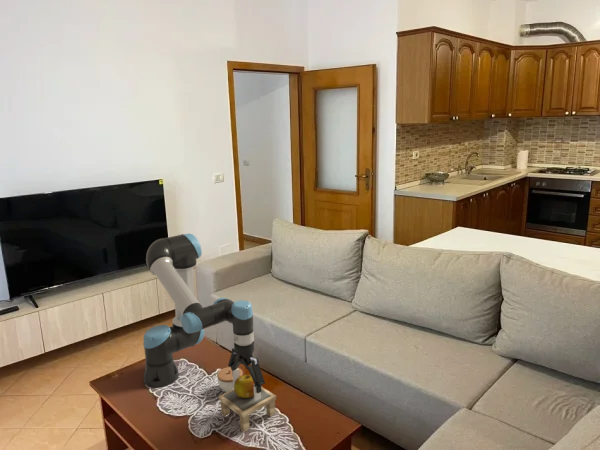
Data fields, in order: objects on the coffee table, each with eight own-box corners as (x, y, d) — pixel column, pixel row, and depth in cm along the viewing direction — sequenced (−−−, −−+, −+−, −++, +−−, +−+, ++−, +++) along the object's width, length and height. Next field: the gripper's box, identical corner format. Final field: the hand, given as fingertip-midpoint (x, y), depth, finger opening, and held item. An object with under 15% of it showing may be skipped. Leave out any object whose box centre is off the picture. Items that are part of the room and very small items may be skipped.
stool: (219, 414, 180) (218, 395, 178) (252, 397, 191) (251, 379, 189) (244, 433, 169) (242, 413, 167) (277, 414, 180) (276, 395, 178)
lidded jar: (238, 397, 191) (237, 377, 189) (214, 395, 193) (213, 375, 191) (246, 383, 201) (245, 364, 199) (223, 381, 203) (222, 362, 201)
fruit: (256, 386, 184) (255, 368, 182) (262, 399, 175) (261, 380, 173) (232, 391, 181) (231, 373, 179) (237, 404, 172) (235, 385, 171)
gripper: (217, 334, 179) (220, 382, 184) (256, 357, 161) (259, 410, 166) (233, 328, 184) (236, 375, 189) (272, 349, 166) (275, 401, 171)
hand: (246, 391), depth 178 cm, fingers open, 13 cm apart
